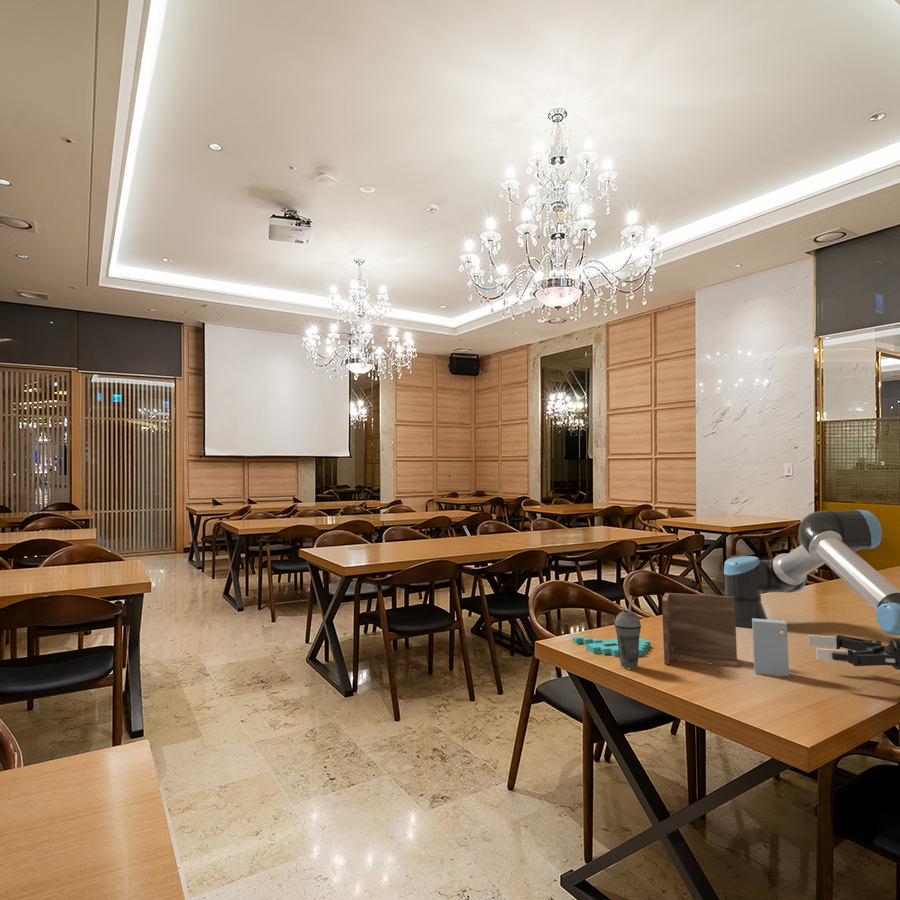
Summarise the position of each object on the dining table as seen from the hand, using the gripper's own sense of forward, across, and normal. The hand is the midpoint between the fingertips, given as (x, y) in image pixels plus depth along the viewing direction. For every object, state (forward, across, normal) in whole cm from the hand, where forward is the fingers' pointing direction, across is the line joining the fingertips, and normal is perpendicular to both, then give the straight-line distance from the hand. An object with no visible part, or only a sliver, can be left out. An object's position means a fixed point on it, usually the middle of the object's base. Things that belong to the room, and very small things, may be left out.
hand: (811, 646), depth 154 cm
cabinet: (+28, +4, -8) cm, 29 cm away
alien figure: (+52, +10, -9) cm, 53 cm away
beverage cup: (+46, -8, -8) cm, 47 cm away
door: (+10, 0, -8) cm, 13 cm away
